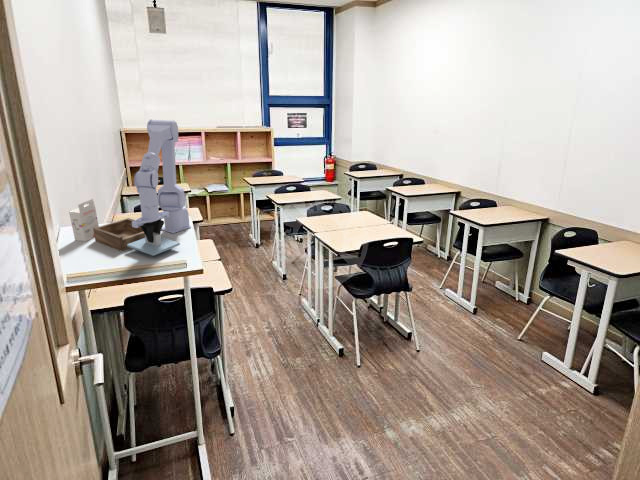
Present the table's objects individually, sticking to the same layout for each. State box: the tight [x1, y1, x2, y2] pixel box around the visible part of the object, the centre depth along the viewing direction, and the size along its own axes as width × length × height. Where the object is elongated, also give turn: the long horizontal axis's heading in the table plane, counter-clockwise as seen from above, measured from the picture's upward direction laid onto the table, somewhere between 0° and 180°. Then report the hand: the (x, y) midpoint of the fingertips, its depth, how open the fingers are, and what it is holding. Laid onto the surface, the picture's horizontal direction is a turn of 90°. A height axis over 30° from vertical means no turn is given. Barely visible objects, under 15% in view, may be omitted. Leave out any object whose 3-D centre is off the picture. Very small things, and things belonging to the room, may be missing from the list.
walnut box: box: [93, 217, 145, 252], centre depth 166 cm, size 15×16×5 cm
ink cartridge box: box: [68, 198, 100, 242], centre depth 166 cm, size 9×5×15 cm, turn 168°
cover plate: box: [127, 232, 181, 256], centre depth 157 cm, size 12×14×5 cm
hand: (153, 240), depth 157 cm, fingers closed on cover plate
